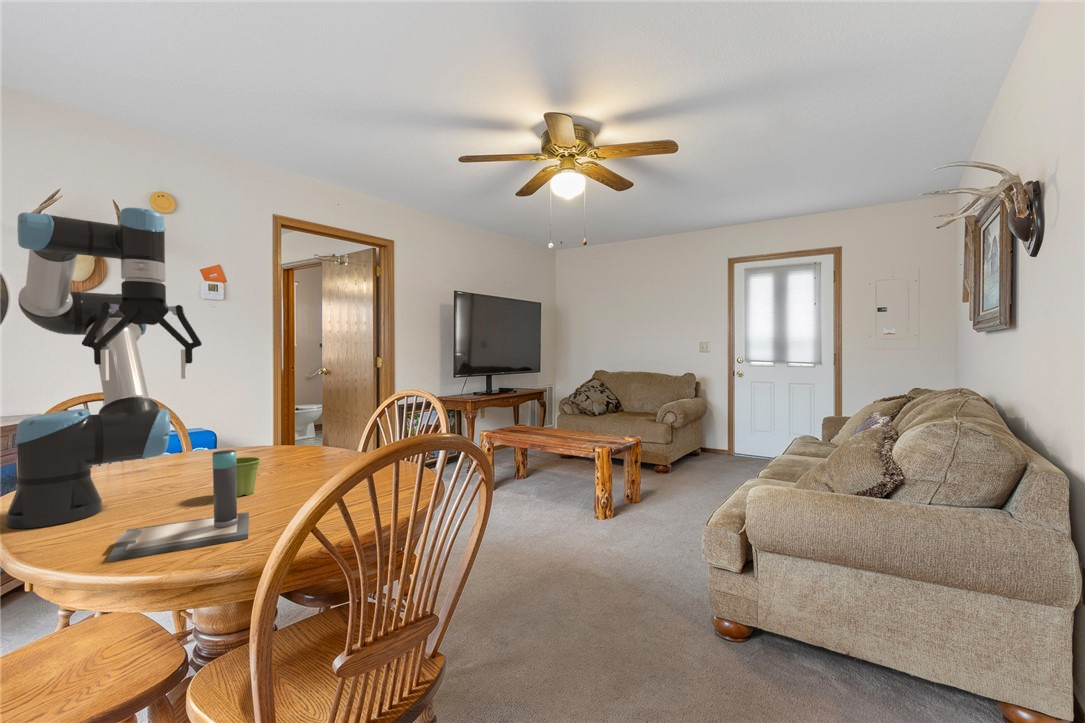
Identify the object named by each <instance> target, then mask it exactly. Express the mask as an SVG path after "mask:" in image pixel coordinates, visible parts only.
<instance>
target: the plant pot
mask: <svg viewBox="0 0 1085 723" xmlns="http://www.w3.org/2000/svg"><path fill="white" fill-rule="evenodd" d="M261 461H262V458H261V457H257V456H242V457H241V456H239V457H236V483H237V498H239V497H241V496H243V495H246V496H249V495H251V494H254V492H255V486H256V480H257V473H258V467H259V466H260V462H261Z"/></svg>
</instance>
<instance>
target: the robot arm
mask: <svg viewBox="0 0 1085 723" xmlns="http://www.w3.org/2000/svg"><path fill="white" fill-rule="evenodd" d="M118 223H119V224H115V223H106V222H100V221H99V222H98V221H92V220H84V219H79V218H71V217H67V216H59V215H53V214H47V213H38V212H37V213H34V212H27V211H26V212H21V213H19V214H18V215H17V244H18V246H19V247H20V248H23V249H25V250H29V251H28V252H29V253H28V260H27V261H28V263H27V272H26V282H25V285H24V286H23V287H22V288H21V289H20V291H19V293H18V306H19V309H20V311H21V312H22V313H23V315H24V316H25V317H26V318H27V319H29V321H31V322H32V323H34V324H35V325H37V326H38V327H40V328H42V329H44V330H47V331H49V332H52V333H57V334H60V335H68V336H69V335H70V336H71V335H74V336H84V338H83V340H82V342H81V345H82V346H84V347H88V348H91V349H92V350H93V362H94V364H95V365H98V369H99V375H100V381H101V387H102V388H101V389H102V394H103V400H104V404H103V406H102V407H100V409H99V410H98V413H97V414H96V413H95V414H91V412H90V410H89V409H87V408H78V409H69V410H61V411H56V412H49V413H43V414H38V415H33V416H30V417H27V418H25V419H22V420H21V421H20V422H19V423H18V424H17V427H16V439H15V440H14V444H15V445H16V451H17V452H16V466H17V467H16V470H17V471H16V473H17V474H16V476H17V488H16V490H15V493H14V496H13V497H12V500H11V503H10V505H9V507H8V510H7V513H6V515H5V516H6V517H5V518H6V520H5V521H6V523H5V524H6V527H8V528H10V529H11V528H13V529H33V528H35V529H36V528H41V527H42V528H43V527H44V528H45V527H51V526H56V525H62V524H66V523H71V522H72V523H73V522H74V521H75V522H77V521H78V520H82V519H83V520H84V519H86V518H89V517H91V516H94V515H97V514H98V513H100V512H101V511H102V509H103V503H102V498H101V495H100V494H99V491H98V490H97V487H96V485H95V483H94V481H93V479H92V475H91V474H92V473H91V472H92V469H91V468H92V466H96V465H103V464H104V465H105V464H110V463H111V464H112V463H117V462H119V463H120V462H126V461H133V460H135V461H136V460H146V459H148V458H156V457H159V456H162V455H163V454H165V453H166V451H167V449H168V445H169V440H170V434H171V433H170V432H171V415H170V414H171V413H170V411H169V410H168V409H165V408H161V409H160V407H159V405H158V403H157V401H155V399H152V398H151V397H149V392H148V388H147V383H146V379H145V375H144V370H143V366H142V361H141V356H140V352H139V347H138V342H137V341H139V340H140V338H141V337H142V336H143V335H144V334H145V333H146V331H147V325H149V326H156V325H157V324H159V325H160V326H161V327H162V328H164V330H165V331H167V333H169V334H170V335H171V336H172V337H173V338H174V339H175V340H176V341H177V342H178V343H179V344H181V345H182V346H183V348H184V349H180V374H181V380H182V379H183V380H184V379H187V378H188V367H187V364H192V363H193V349H196V348H198V347H201V346H202V345H203V343H202V341H201V340H200V337H199V336H198V335H197V333H196V332H195V330H194V329H193V328H194V327H192V325H191V323H190V321H189V320H188V319H187V317H186V315H185V308H184V306H182V305H180V304H177V305H172V306H168V304H167V297H166V296H167V291H166V290H167V288H166V286H167V285H165V284H164V283H165V282H166V258H165V256H166V254H165V253H166V248H165V247H166V246H165V244H166V242H165V239H166V238H165V231H166V228H165V219H164V216H163V215H162V214H161V213H160V212H157V211H156V210H152V209H147V208H141V207H125V208H122V209H121V210H120V213H119V220H118ZM78 255H79V256H89V257H98V258H99V257H100V258H107V259H118V260H120V277H121V279H122V280H123V281H122V282H121V284H120V285H121V288H120V290H121V293H115V294H114V293H113V294H112V293H103V292H102V293H100V292H86V291H84V292H83V291H71V287H72V281H73V276H74V274H75V273H74V272H75V268H76V263H77V259H78ZM169 312H171V313H172V315H174V316H175V317H177V318H178V321H179V322H180V324H181V325H182V326H183V328H184V330H185V332H186V334H187V335H188V336H189V338H190V339H191V341H192V342H189V340H187V339H186V338H185V337H184V336H182V334H181V333H180V332H179V331H178V330H177V329H175V327H173V326H172V324H171V323H170V322H168V320H167V319H165V316H166V315H167V314H168V313H169Z"/></svg>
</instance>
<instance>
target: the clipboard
mask: <svg viewBox="0 0 1085 723" xmlns="http://www.w3.org/2000/svg"><path fill="white" fill-rule="evenodd" d="M249 514H250V513H249V511H246V512H241V513H237V524H236V525H234V526H231V527H227V528H215V527H214V516H212V517H205V518H197V519H192V520H191V519H190V520H184V521H177V522H169V523H164V524H157V525H155V524H154V525H150V526H144V527H143V526H141V527H136V528H129V529H127V530H125V531H124V532H121V534H120V535H119V536H118V538H117V539H116V541H115V542H114V548H113V549H112V551H111V552H110V554H109V555H108V562H109V563H111V562H116V561H121V560H127V559H135V558H139V557H141V558H142V557H147V556H152V555H158V554H159V555H160V554H164V553H168V552H170V553H171V552H176V551H182V550H189V549H193V548H194V549H195V548H199V547H206V546H211V545H218V544H225V543H230V542H236V541H241V540H242V541H243V540H249V527H250V526H249V521H250V520H249V518H250V515H249Z"/></svg>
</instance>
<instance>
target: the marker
mask: <svg viewBox="0 0 1085 723" xmlns="http://www.w3.org/2000/svg"><path fill="white" fill-rule="evenodd" d="M211 455H212V479H213V480H212V482H213V483H212V484H213V485H212V486H213V488H212V489H213V492H212V493H213V517H214V527H215V528H227V527H231V526H234V525H236V524H237V514H238V497H237V483H236V458H237V450H234V449H226V450H218V451H213V452H212V453H211Z"/></svg>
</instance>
